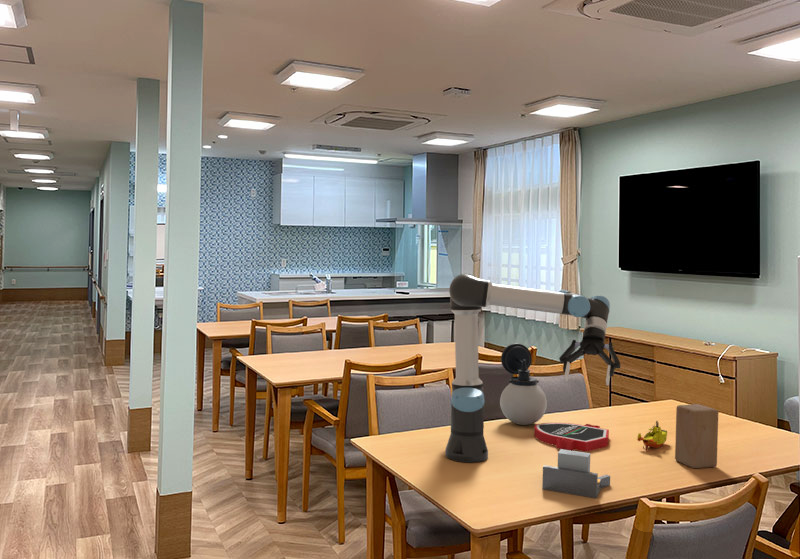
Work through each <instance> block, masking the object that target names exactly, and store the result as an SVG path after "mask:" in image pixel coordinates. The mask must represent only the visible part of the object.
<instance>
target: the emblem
mask: <svg viewBox="0 0 800 559" xmlns="http://www.w3.org/2000/svg"><path fill="white" fill-rule="evenodd" d="M533 428H534V434H533V436H534V437H535V438H536V439H537V438H538V439H539V440H538V439H537V440H538V441H540V440H541V441H540V442H542V441H543V443H545V442H546V443H545V444H547V443H549V444H548V445H551V444H553V445H552V446H555V445H556V449H557V448H559V449H558V450H561V449H563V450H572V451H574V450H575V449H577V450H576V451H580V450H582V451H581V452H585V451H587V452H591V451H595V450H599V448H600V449H603V447H604V448H607V446H608V445H609V438H610V435H609V434H610V430H609V429H606V428H601V426H600V425H594V424H590V423H586V424H584V425H582V424H577V423H570V422H543V423H537V424H536V423H534V427H533Z"/></svg>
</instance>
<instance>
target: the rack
mask: <svg viewBox="0 0 800 559" xmlns="http://www.w3.org/2000/svg"><path fill="white" fill-rule="evenodd" d="M598 475H599V473H596V472H591V471H590V472H585V471H579V470H572V469H566V468H559V467H558V466H552V465H547V464H546V465H545V464H544V465H543V466H542V484H541V486H542V487H541V488H542V490H543V491H544V490H546V491H551V492H556V493H561V494H562V493H563V494H568V495H569V494H570V495H573V496H574V495H575V496H581V497H586V498H593V499H598V496H599V494H600V492H601V490H602V489H604V488H606V487H609V486H611V475H609V474H604V475H600V476H598Z"/></svg>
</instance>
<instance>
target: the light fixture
mask: <svg viewBox="0 0 800 559" xmlns="http://www.w3.org/2000/svg"><path fill="white" fill-rule="evenodd" d="M532 359H533V357H532V354H531V351H530V350H529V348H528V347H527V346H525V345H524V344H521V343H511V344H509V345H507V346H506V347H505V348H504V349H503V350H502V353H501V356H500V362H501V366H502V367H503V369H504V370H505V371H506V372H508V373H509V374H511V375H518V376H512V377H511V378H510V380H508V385H507V386H505V388H504V389H503V390H502V392H501V395H500V398H499V405H500V409H501V412H502V414H503V415H504V416H505V418H507V420H509V421H510V422H511V423H514V424H516V425H519V426H520V425H521V426H528V425H532V424H536V423H537V422H538V421H540V420H541V419H542V418H543V417H544V415H545V413H546V410H547V404H548V402H547V397H546V394H545V393H544V390H543V389H542V388H541V386H539V385H538V383H539V382H540V381H539V379H537V378H535V377H532V376H530V372H531V370H530V369H529V368H530V367H531V364H532V361H533V360H532Z"/></svg>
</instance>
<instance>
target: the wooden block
mask: <svg viewBox="0 0 800 559" xmlns="http://www.w3.org/2000/svg"><path fill="white" fill-rule="evenodd" d="M675 410H676V411H675V413H676V414H675V415H676V416H675V441H674V442H675V446H674V448H675V449H674V459H675V461H676V462H678V463H681V464H683V465H685V466H687V467H689V468H692V469H704V468H714V467H717V465H718V445H719V444H718V441H719V439H718V436H719V433H718V432H719V410H718V409H716V408H713V407H712V408H711V407H709V406H705V405H702V404H698V403H697V404H696V403H695V404H694V403H693V404H678V405H677V406H676V409H675Z"/></svg>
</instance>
